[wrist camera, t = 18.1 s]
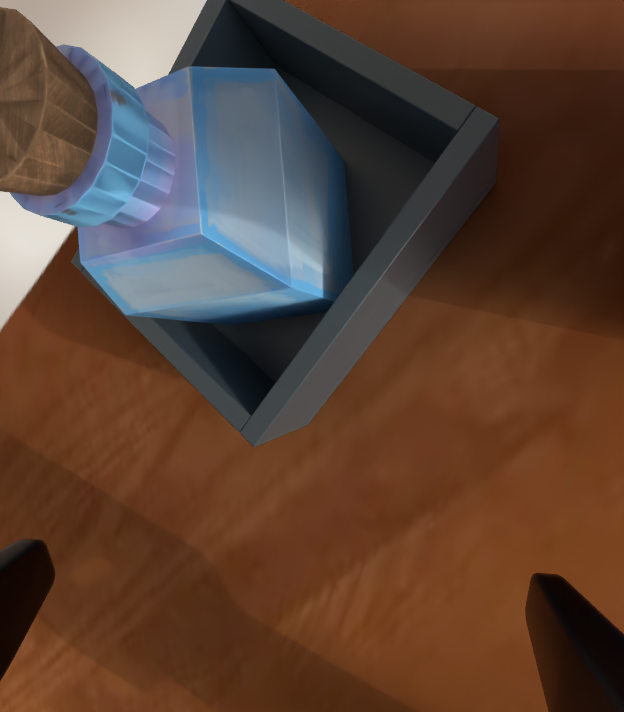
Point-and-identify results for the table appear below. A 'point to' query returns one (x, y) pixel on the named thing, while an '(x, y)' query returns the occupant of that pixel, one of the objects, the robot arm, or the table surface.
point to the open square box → (365, 206)
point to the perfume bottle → (177, 182)
